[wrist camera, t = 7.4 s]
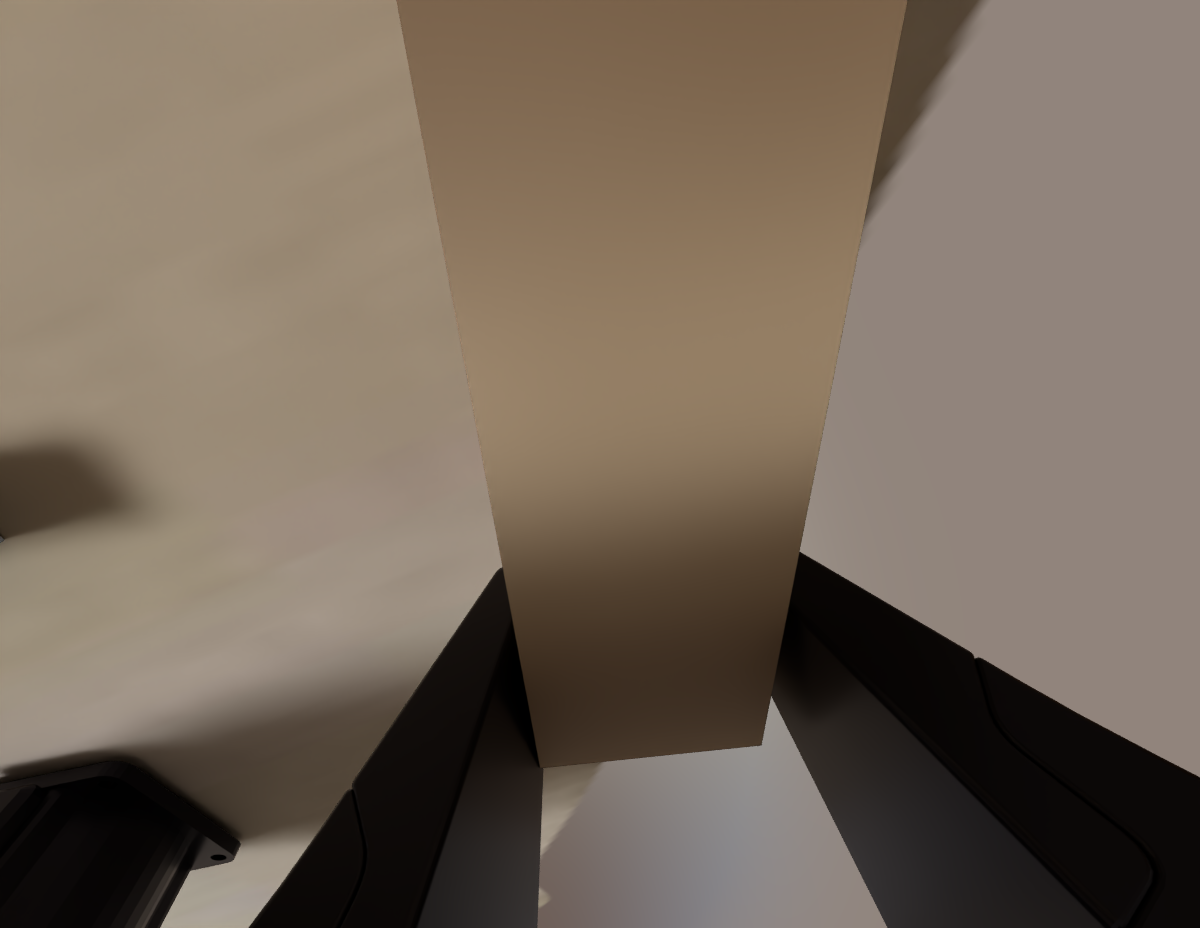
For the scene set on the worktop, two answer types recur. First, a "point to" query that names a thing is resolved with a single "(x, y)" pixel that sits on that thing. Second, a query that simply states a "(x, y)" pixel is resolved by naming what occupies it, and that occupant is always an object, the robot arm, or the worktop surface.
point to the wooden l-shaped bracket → (650, 328)
